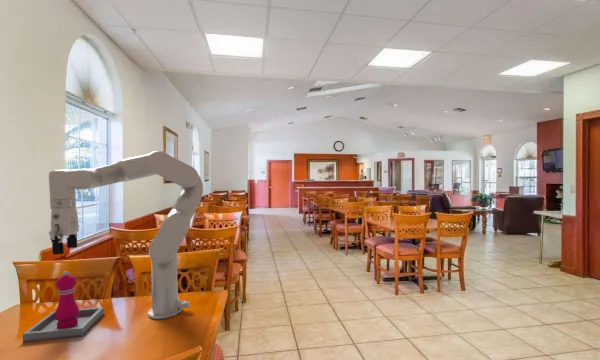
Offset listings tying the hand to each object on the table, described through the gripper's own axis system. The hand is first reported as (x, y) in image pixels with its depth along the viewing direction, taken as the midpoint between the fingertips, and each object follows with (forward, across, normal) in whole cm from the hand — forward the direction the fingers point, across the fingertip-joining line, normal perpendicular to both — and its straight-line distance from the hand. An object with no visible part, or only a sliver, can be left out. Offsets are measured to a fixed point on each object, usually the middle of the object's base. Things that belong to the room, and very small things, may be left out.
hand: (65, 250), depth 118 cm
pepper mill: (+28, 0, 0) cm, 28 cm away
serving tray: (+28, 0, +1) cm, 28 cm away
